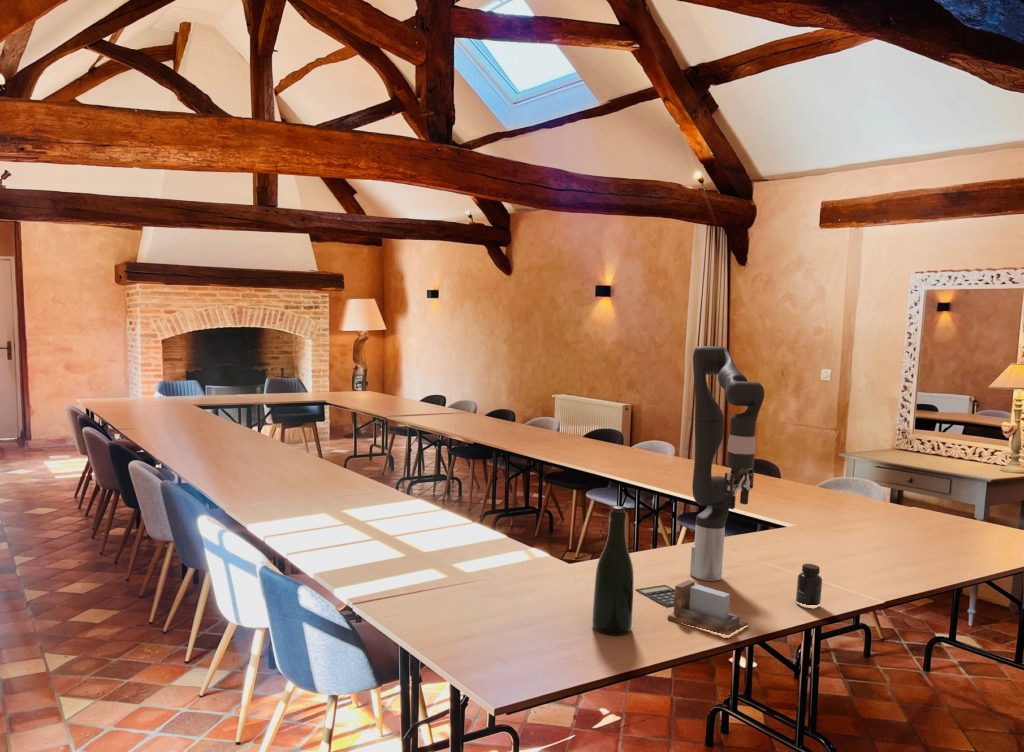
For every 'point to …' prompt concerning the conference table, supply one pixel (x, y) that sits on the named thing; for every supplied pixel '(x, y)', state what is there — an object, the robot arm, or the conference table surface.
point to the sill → (698, 619)
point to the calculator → (659, 594)
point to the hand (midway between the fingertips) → (737, 506)
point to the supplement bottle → (809, 585)
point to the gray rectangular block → (709, 602)
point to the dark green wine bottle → (614, 580)
